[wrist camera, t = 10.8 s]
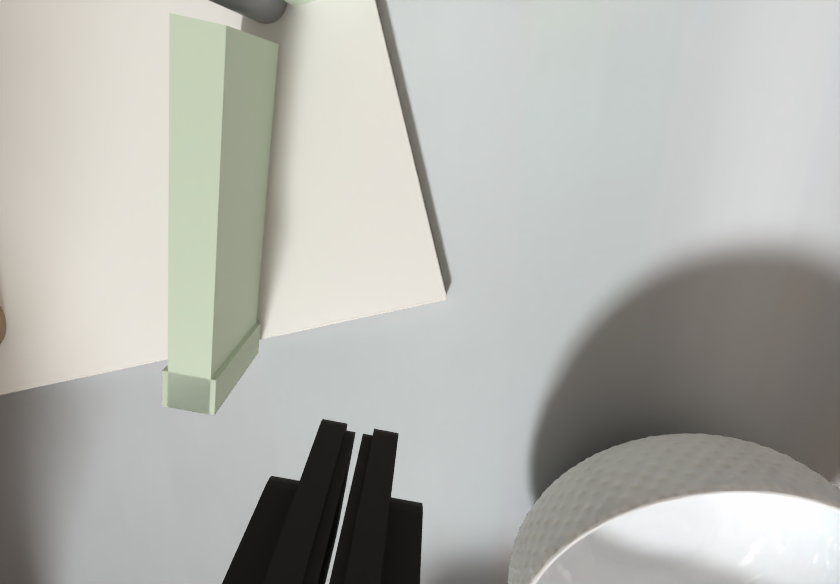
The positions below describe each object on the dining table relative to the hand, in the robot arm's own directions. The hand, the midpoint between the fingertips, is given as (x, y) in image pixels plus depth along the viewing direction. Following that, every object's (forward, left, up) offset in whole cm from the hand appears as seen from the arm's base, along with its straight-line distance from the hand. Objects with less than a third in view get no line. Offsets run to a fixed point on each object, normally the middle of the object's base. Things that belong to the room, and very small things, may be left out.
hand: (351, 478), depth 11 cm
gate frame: (-11, +7, -13) cm, 19 cm away
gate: (-5, +5, -12) cm, 14 cm away
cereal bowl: (+10, -17, -13) cm, 24 cm away
